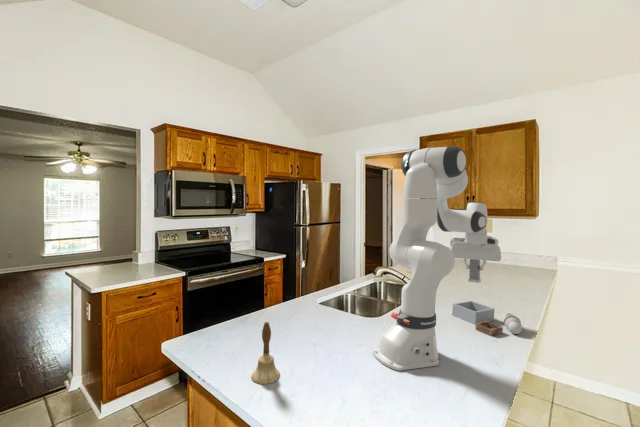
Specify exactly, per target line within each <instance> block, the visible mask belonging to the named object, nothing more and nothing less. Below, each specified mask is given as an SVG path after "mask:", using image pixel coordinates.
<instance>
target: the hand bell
mask: <svg viewBox="0 0 640 427" xmlns="http://www.w3.org/2000/svg"><path fill="white" fill-rule="evenodd" d="M271 337H272V330H271V326H270V322H269V321H266V322H264V323H263V327H262V330H261V338H262V343H263V350H262V351H263V355H261V356H259V357H258V360H257V361H258V362H257V366H256V368H255V370H254V371H253V372H252V373H251V376H250V377H251V380H252V382H254V383H256V384H259V385H269V384H270V385H271V384H273V383H275V382H277V381H278V380H279V379H280V377H281V373H280V371H279V370H278V369H277V368H276V365H275V359H274V356H273V355H271V354H270V341H271Z"/></svg>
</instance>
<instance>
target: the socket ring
mask: <svg viewBox="0 0 640 427" xmlns="http://www.w3.org/2000/svg"><path fill="white" fill-rule="evenodd" d="M503 330H504V326H501V325H498V324H496V323H493V322H492V321H489V322H488V321H485V322H480V323H476V325H475V331H477V332H480V333H482V334H486V335H488V336H490V337H493V336H498V335H501V334H502V335H503V333H504V332H503Z"/></svg>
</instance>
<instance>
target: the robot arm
mask: <svg viewBox="0 0 640 427" xmlns="http://www.w3.org/2000/svg"><path fill="white" fill-rule="evenodd" d="M400 163H401V165H400V167H401V171H402V174H403V175H404V177H405V178H404V184H403V192H402V220H401V225H400V229H399V233H398V234H397V237H396V238H395V239H394V240H393V241H392V242H391V244H390V246H389V249H388V250H389V251H388V252H389V253H388V254H389V257H390V260H392V261H393V262H394V263H395V264H396V265H398V266H400V267H401V268H404V269H407V270H411V276H410V279H409V282H407V283H405V284H404V285H403V286H402V288H401V300H400V301H401V305H400V309H399V311H398V313H397V312H395V311H392V312H391V314H390V316H391V318H393V319H394V320H396V321H395V322H394V323H393V324H392V326H390V327H389V328H388V329H387V330H386V331H385V332H383V334H382V335H381V336H380V339H379V340H380V341H379V346H376V347H374V348H372V352H371V353H372V355H373V357H374V358H375V359H376V360H378V361H379V362H380V363H382V365H384V366H386V367H388V368H389V369H392V370H395V371H407V370H414V369H421V368H423V369H424V368H430V367H437V366H439V365H440V361H439V357H440V356H439V354H440V353H439V351H438V347H437V335H436V326H437V313H436V301H437V300H436V299H437V291H438V289H439V285H440V283H441V281H442V280H443V279H444V278H445V277H447V276H448V275H449V274H450V273H451V272H452V271H453V269H454V267H455V262H456V261H455V260H456V259H463V263H464V264H465V269H466V270H470V264H469V263H468V260H470V259H473V260H480V261H482V264H481V265H480V266H479V267H480V268H479V270H480V271H484V267H485V265H486V264H487V261H488V262H500V261H501V260H502V251H501V248H500V246H499V245H498V244H499V239H497V238H496V237H492V236H491V235H490V236H489V235H488V231H487V225H488V208H487V204H486V203H483V202H477V201H476V202H475V201H474V202H473V201H471V202H468V203H467V205H466V209H452V208H449V206H448V199H449V198H453V197H456V196H458V195H460V194H461V193H463V191H465V190H466V188H467V186H468V182H469V176H468V174H467V170H466V167H467V166H466V165H467V158H466V154H465V151H464V150H463V149H462V148H461V147H459V146H455V145H449V146H438V147H430V146H429V147H426V148H421V149H418V150H416V149H413V150H410V151H408V152H406V153H405V154H404V155H403V157H402V159H401V162H400ZM436 223H437V226H438V227H439V229H440V230H441V231H442V232H445V233H447V232H451V233H452V232H453V233H454V232H455V233H464V237H453V238H451V239H450V241H449V243H450V247H451V248H449V247H448V246H446V245H444V244H442V243H439V242H436V241H431V240H427V235H428V233H429V231H430V229H431V228H432V227H434V226H435V225H436Z"/></svg>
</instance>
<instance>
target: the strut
mask: <svg viewBox="0 0 640 427" xmlns="http://www.w3.org/2000/svg"><path fill="white" fill-rule="evenodd" d="M469 265H470V269H469V278H468V280H467V281H468V282H469V283H477V284H478V283H479V284H480V283H482V282H481V281H482V279H481V270H479V268H480V267H479V266H481V260H473V259H469Z"/></svg>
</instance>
